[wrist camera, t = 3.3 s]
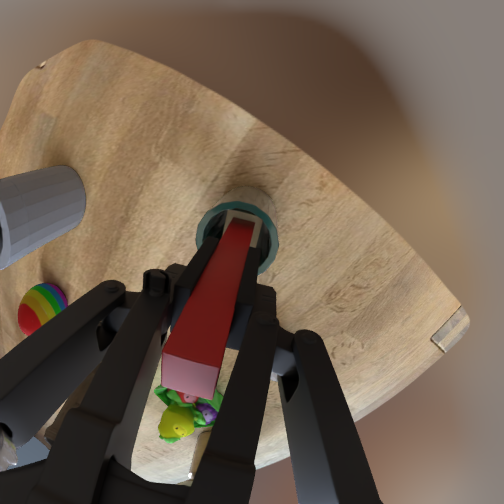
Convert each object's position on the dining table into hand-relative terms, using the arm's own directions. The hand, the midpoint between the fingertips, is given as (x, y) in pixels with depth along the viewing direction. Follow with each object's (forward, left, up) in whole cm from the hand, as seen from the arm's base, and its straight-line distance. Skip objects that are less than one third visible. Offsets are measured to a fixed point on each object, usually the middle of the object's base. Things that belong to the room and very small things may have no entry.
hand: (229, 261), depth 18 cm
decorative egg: (+21, -29, -13) cm, 38 cm away
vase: (+3, -26, -13) cm, 29 cm away
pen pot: (0, 0, -13) cm, 13 cm away
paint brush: (0, 0, -12) cm, 12 cm away
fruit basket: (+30, -2, -13) cm, 33 cm away
